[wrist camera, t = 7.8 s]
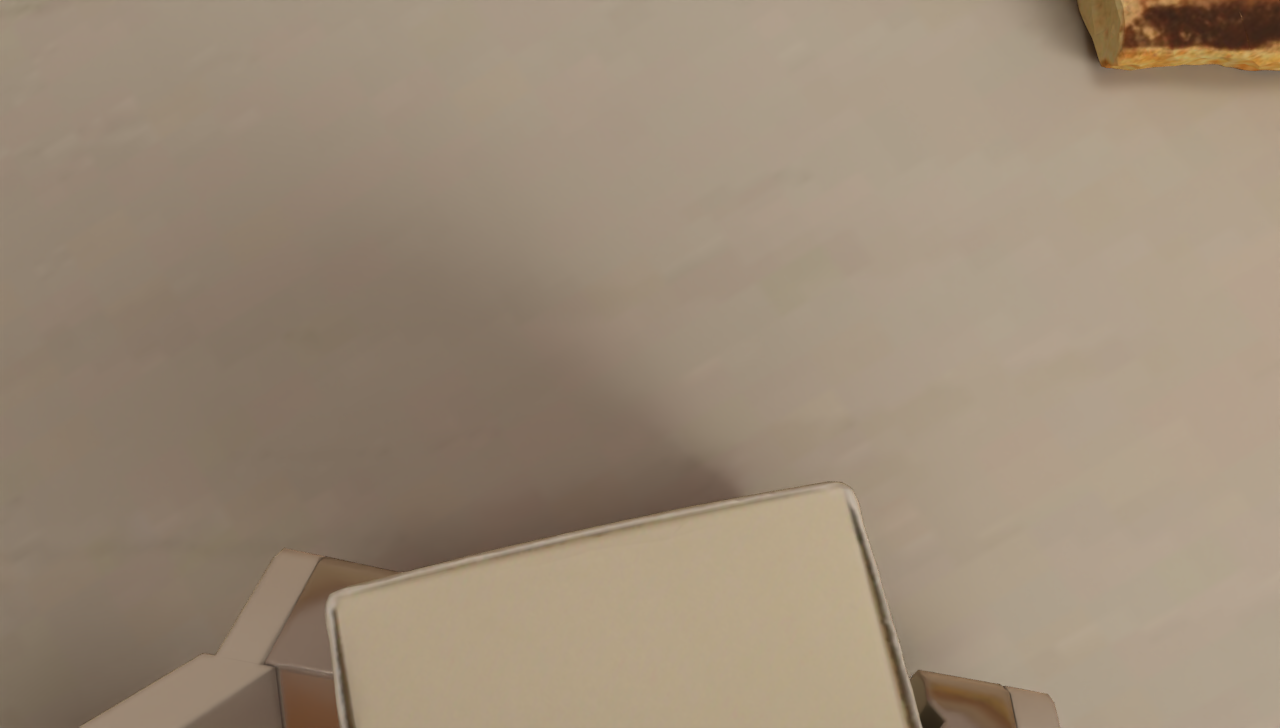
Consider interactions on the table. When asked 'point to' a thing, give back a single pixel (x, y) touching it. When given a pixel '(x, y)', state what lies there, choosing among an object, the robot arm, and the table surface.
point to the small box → (636, 627)
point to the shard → (1184, 33)
